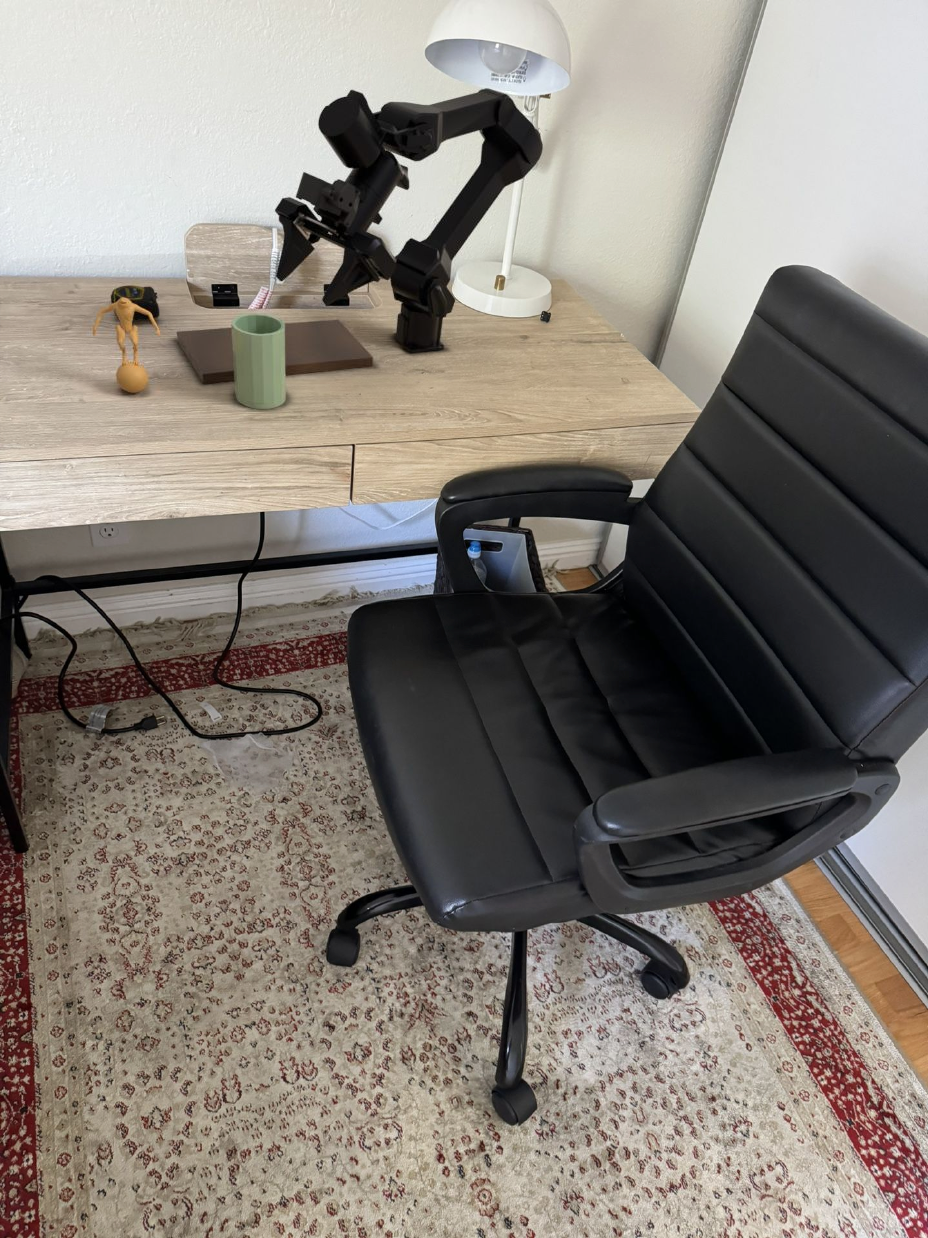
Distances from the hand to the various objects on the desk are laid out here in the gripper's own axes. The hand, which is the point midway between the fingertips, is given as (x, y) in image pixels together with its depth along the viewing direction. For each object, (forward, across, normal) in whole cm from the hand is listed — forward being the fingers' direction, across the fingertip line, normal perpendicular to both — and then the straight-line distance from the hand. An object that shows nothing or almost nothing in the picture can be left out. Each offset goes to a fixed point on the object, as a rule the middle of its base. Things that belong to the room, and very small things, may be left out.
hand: (301, 290), depth 108 cm
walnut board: (+7, -9, +12) cm, 17 cm away
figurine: (+23, -12, -4) cm, 26 cm away
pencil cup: (+15, 0, +4) cm, 15 cm away
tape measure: (+14, -31, +6) cm, 34 cm away
